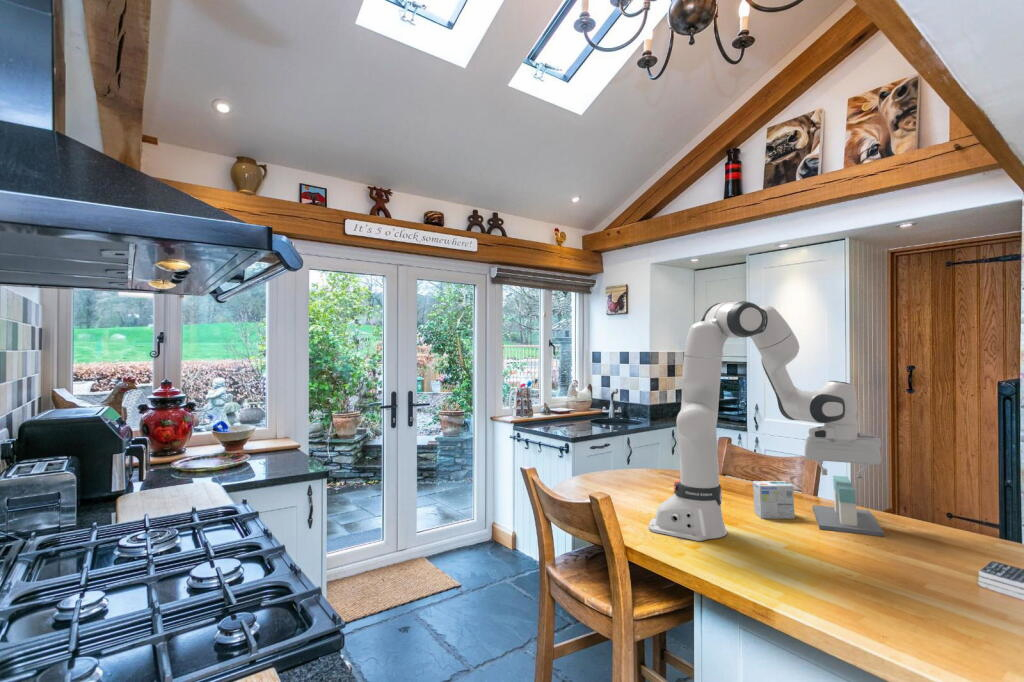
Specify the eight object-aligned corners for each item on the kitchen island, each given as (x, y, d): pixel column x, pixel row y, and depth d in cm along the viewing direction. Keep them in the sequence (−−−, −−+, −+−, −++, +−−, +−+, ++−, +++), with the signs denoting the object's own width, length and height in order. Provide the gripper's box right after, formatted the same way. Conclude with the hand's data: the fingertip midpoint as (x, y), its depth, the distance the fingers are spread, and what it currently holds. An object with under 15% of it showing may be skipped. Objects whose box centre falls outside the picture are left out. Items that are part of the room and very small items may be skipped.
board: (819, 529, 151) (818, 501, 151) (812, 508, 171) (811, 484, 171) (884, 536, 144) (882, 507, 144) (869, 514, 164) (868, 488, 164)
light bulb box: (786, 512, 167) (785, 480, 168) (795, 519, 161) (794, 485, 161) (753, 512, 168) (751, 480, 169) (761, 519, 162) (759, 485, 162)
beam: (833, 487, 166) (833, 475, 167) (848, 488, 165) (847, 476, 165) (839, 502, 151) (839, 488, 151) (855, 503, 149) (855, 490, 149)
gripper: (878, 432, 157) (879, 477, 156) (803, 428, 166) (804, 470, 165) (883, 436, 151) (884, 482, 151) (805, 431, 160) (805, 475, 160)
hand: (841, 476), depth 158 cm, fingers open, 8 cm apart
